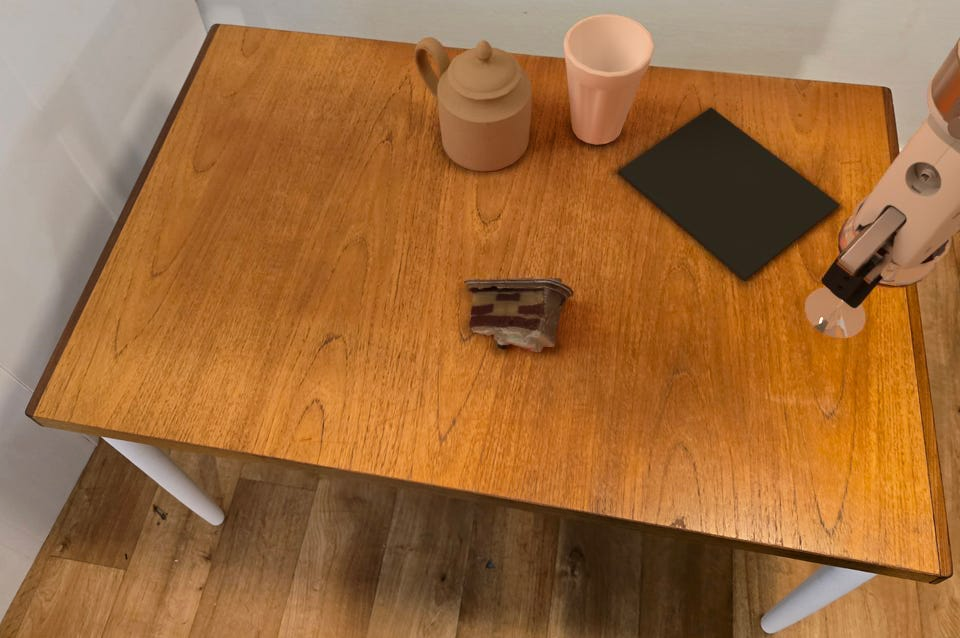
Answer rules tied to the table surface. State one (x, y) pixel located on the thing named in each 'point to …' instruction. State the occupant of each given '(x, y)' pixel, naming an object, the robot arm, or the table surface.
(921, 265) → the wineglass
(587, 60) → the cup
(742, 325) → the table surface
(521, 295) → the checkered cake slice
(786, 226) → the mat
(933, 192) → the robot arm
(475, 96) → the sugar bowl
